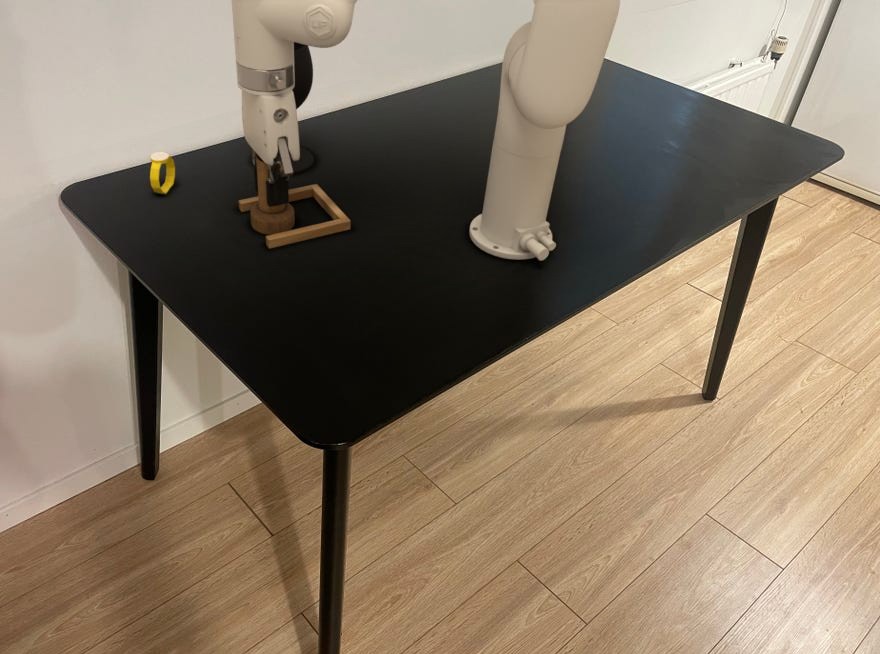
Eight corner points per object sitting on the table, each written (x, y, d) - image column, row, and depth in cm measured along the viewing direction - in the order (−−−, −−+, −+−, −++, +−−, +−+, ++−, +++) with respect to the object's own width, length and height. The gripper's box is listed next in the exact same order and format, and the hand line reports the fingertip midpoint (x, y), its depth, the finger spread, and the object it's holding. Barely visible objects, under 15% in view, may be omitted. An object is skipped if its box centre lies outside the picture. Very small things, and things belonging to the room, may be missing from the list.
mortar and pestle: (286, 238, 115) (282, 122, 103) (244, 231, 116) (235, 115, 104) (300, 216, 120) (297, 103, 108) (259, 209, 121) (253, 96, 109)
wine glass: (288, 141, 138) (284, 25, 125) (326, 163, 133) (326, 44, 120) (240, 157, 133) (230, 38, 119) (277, 181, 127) (272, 59, 114)
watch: (165, 179, 125) (159, 145, 122) (181, 182, 125) (176, 148, 121) (148, 197, 121) (142, 162, 117) (165, 200, 121) (160, 165, 117)
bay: (350, 229, 118) (350, 220, 117) (269, 249, 113) (268, 240, 112) (316, 192, 126) (316, 183, 125) (238, 208, 120) (238, 200, 119)
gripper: (318, 94, 99) (318, 219, 111) (267, 48, 109) (273, 167, 121) (263, 102, 96) (269, 230, 108) (216, 55, 106) (227, 176, 118)
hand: (271, 195), depth 115 cm, fingers closed on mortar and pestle, 3 cm apart
